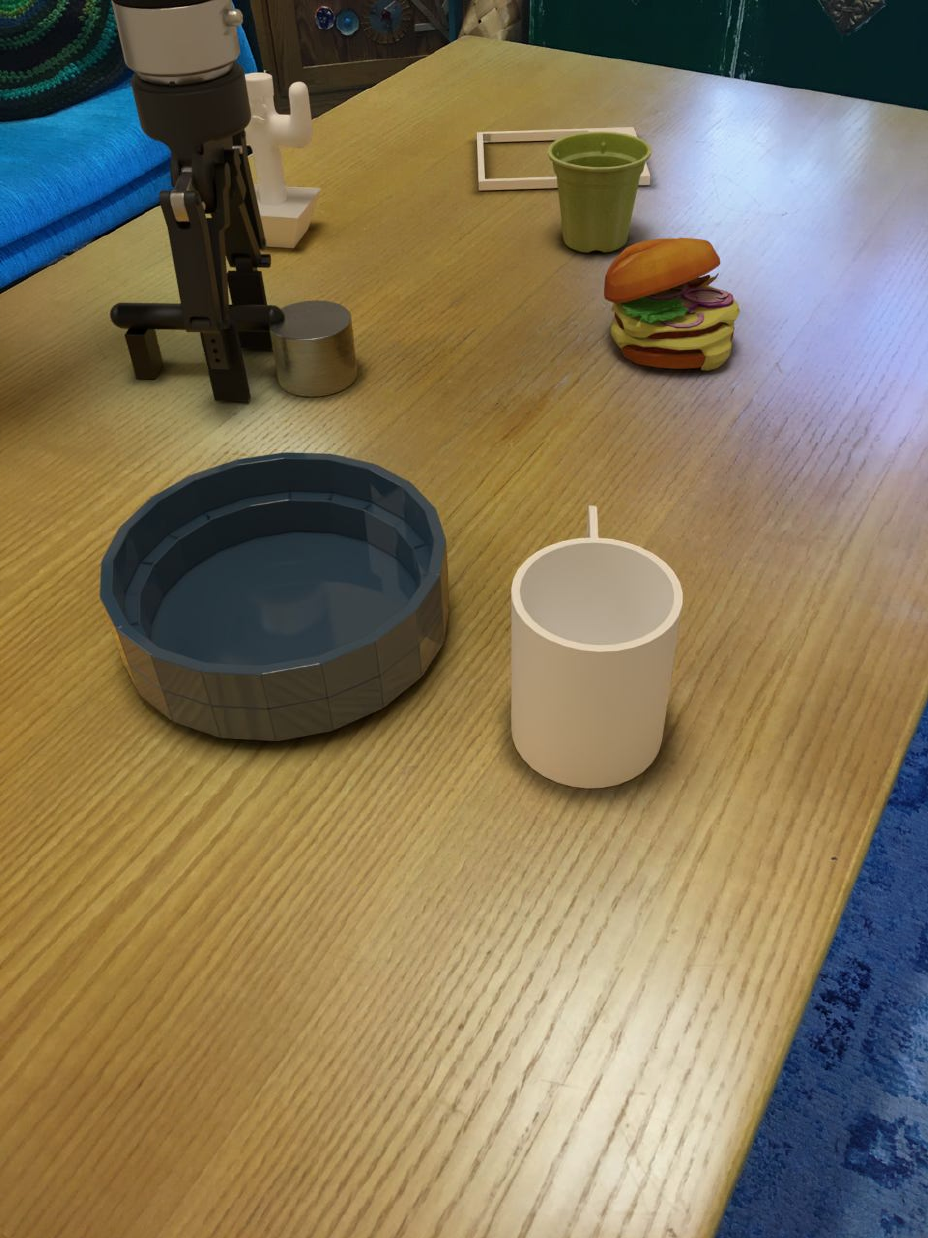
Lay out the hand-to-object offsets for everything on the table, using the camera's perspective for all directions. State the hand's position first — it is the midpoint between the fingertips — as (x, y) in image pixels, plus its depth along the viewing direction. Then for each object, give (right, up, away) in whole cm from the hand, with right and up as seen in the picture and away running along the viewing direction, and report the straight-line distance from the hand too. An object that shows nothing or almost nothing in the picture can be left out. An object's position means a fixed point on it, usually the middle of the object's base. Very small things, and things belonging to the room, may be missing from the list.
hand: (245, 371), depth 86 cm
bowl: (+7, -21, -22) cm, 31 cm away
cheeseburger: (+34, +2, +2) cm, 35 cm away
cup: (+25, -25, -27) cm, 44 cm away
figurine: (0, +18, +19) cm, 26 cm away
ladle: (0, 0, 0) cm, 1 cm away
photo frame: (+28, +30, +31) cm, 52 cm away
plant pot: (+30, +16, +17) cm, 38 cm away
